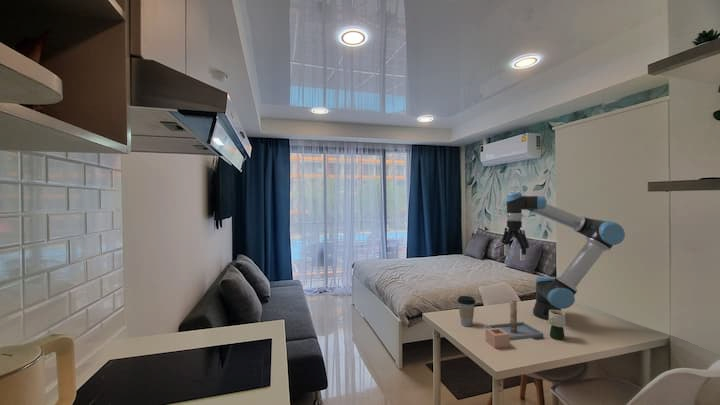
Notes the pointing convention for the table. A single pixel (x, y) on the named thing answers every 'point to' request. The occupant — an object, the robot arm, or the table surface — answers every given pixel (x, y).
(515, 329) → the dowel
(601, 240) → the robot arm
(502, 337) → the pink square tube
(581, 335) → the table surface
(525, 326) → the tray
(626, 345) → the table surface
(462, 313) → the coffee cup
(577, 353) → the table surface
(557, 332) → the character mug
